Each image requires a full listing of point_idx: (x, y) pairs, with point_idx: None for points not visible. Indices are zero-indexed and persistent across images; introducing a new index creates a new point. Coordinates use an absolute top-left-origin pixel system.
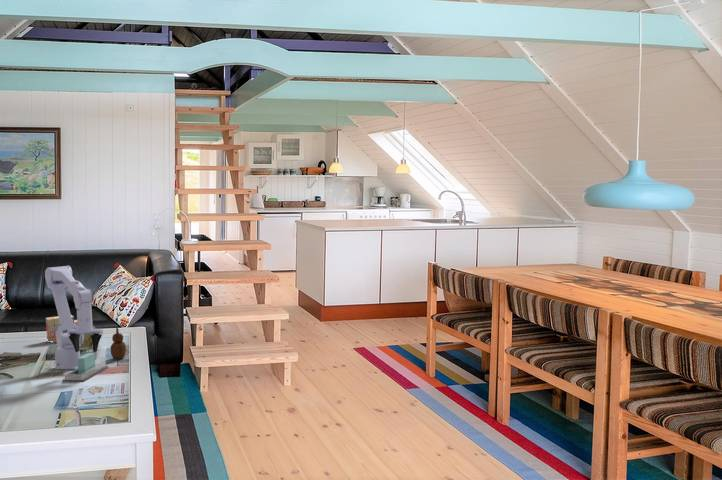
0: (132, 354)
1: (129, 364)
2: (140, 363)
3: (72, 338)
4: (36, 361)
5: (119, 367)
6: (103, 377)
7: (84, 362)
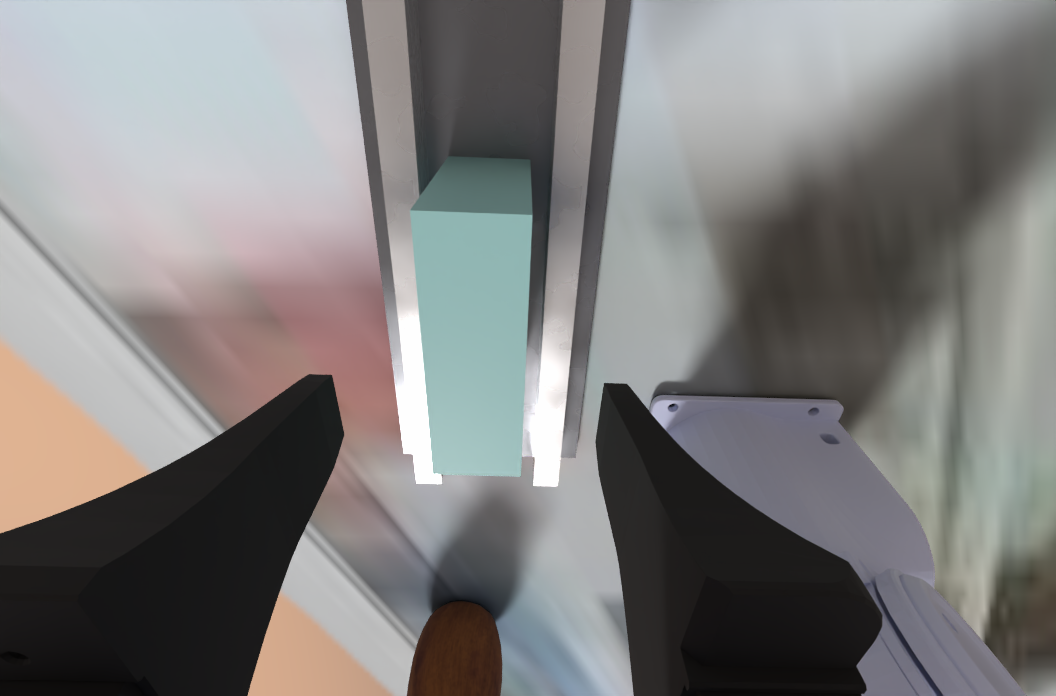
0: None
1: None
2: None
3: (735, 550)
4: (999, 573)
5: None
6: (229, 122)
7: (425, 194)
